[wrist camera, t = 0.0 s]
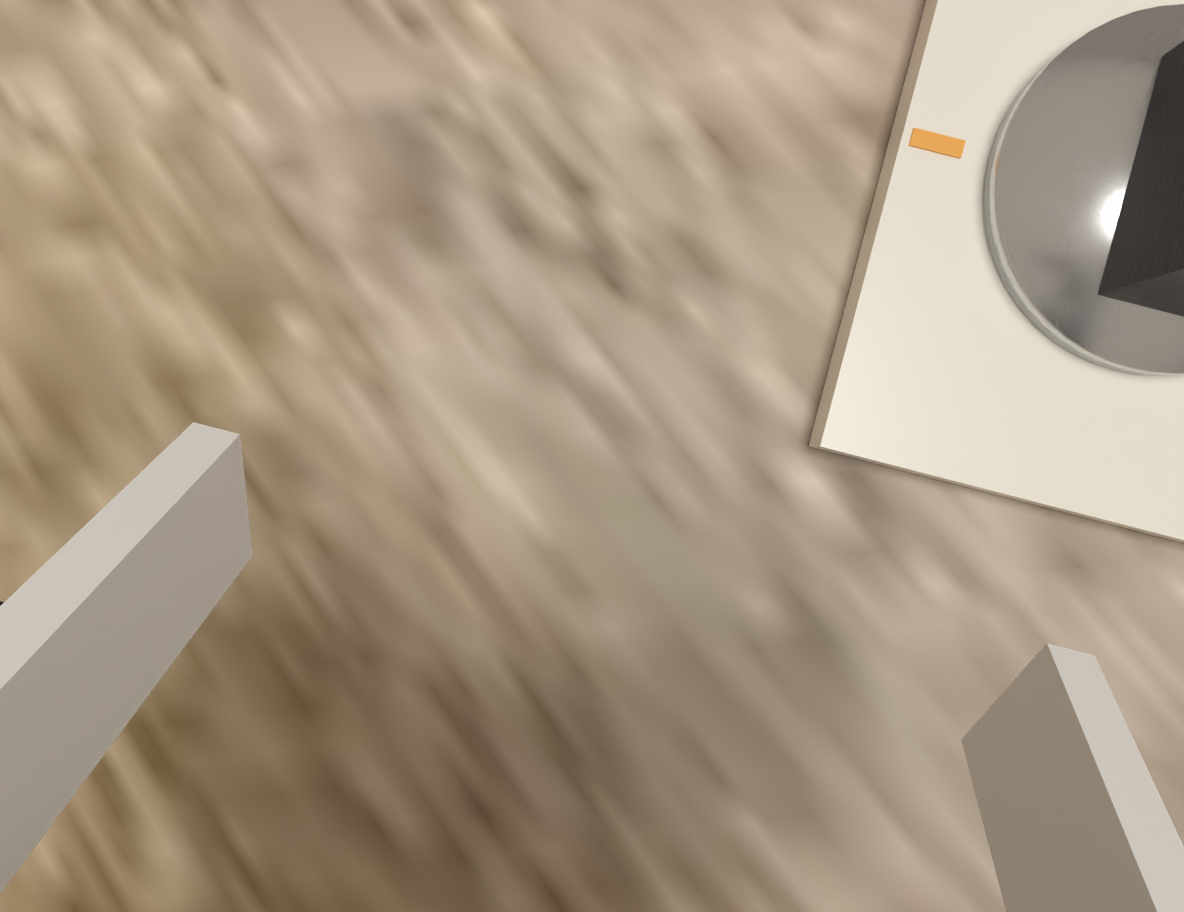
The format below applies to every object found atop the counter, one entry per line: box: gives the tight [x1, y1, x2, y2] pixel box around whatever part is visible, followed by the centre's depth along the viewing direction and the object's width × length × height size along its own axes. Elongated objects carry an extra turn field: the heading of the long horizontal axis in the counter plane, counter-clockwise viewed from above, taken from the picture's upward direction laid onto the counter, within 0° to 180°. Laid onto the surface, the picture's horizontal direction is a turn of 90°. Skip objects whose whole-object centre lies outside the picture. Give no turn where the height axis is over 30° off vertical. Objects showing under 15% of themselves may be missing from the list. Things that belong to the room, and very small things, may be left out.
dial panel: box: [808, 0, 1184, 543], centre depth 27 cm, size 22×18×2 cm
